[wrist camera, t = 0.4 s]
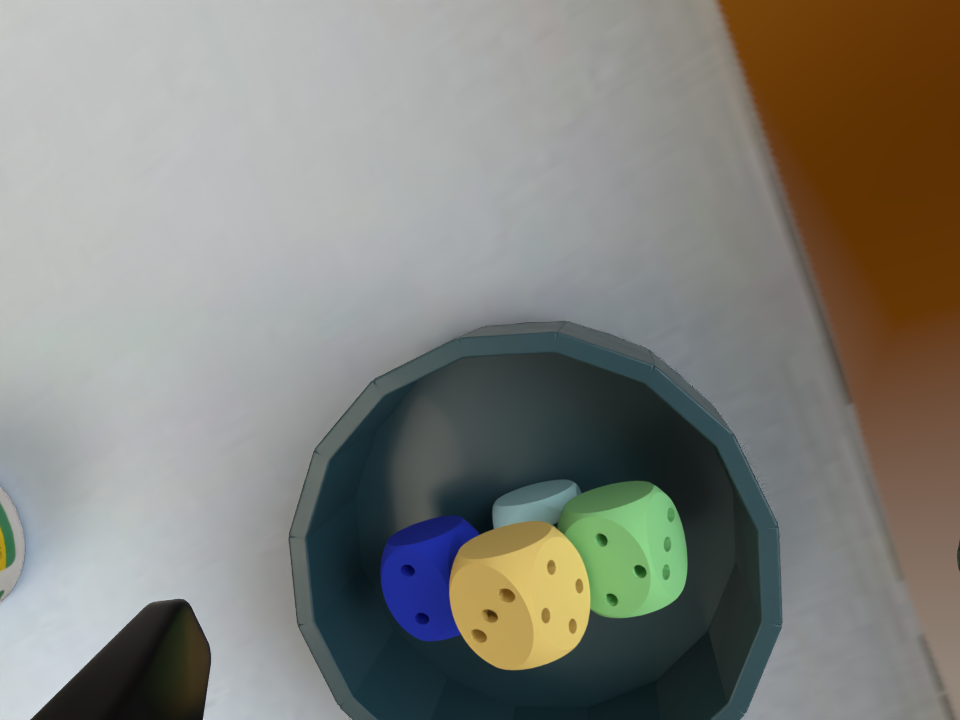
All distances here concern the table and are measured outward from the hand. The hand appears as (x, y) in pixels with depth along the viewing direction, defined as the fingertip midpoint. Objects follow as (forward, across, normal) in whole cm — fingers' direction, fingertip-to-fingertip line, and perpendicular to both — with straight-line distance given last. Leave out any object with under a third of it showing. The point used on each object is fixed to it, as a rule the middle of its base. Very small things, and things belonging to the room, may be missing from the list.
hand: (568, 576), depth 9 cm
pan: (+12, 0, +10) cm, 15 cm away
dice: (+11, 0, +10) cm, 15 cm away
